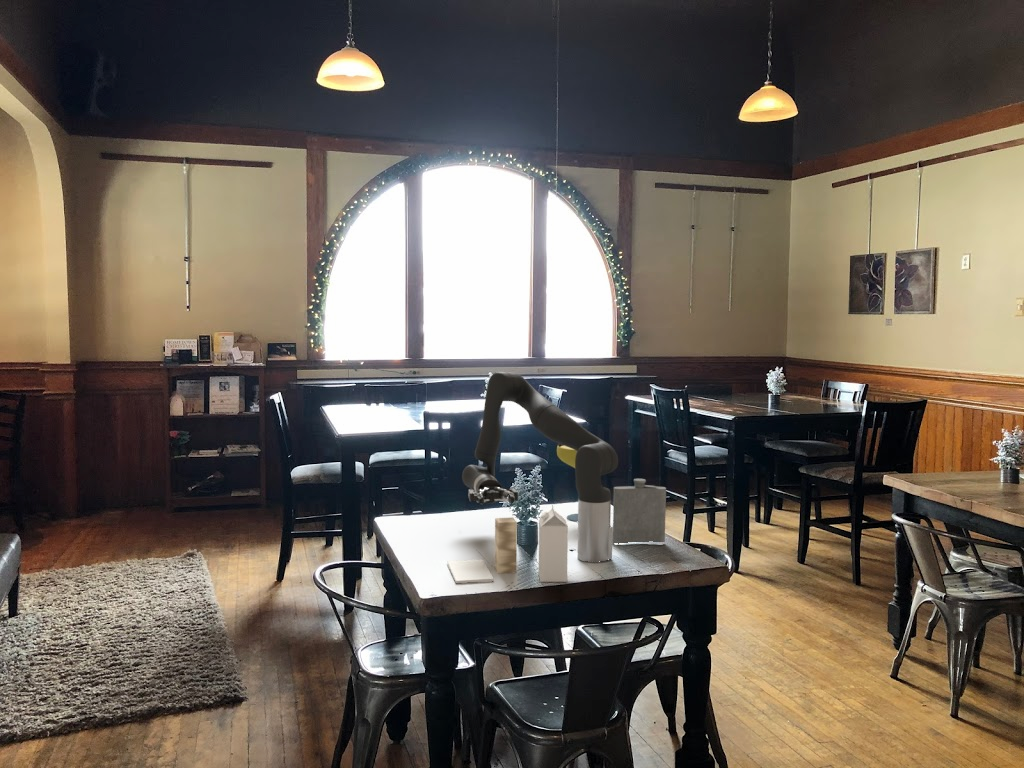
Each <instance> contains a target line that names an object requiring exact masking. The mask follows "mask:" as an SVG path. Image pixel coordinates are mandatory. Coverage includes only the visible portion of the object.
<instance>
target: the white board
mask: <svg viewBox="0 0 1024 768" xmlns="http://www.w3.org/2000/svg"><path fill="white" fill-rule="evenodd" d="M447 564H448V565H447V567H448V566H449V567H448V568H449V569H448V570H449V571H450V574H451V573H452V574H451V576H452V575H453V576H452V579H453V580H455V581H454V583H455V582H456V583H462V584H468V583H467V582H478V583H490V582H491V583H492V581H495V580H494V577H493V575H492V573H491V572H490V570H489V568H488V566H487V564H486V563H485V561H484V559H469V560H451V561H450V560H449V561H447ZM456 583H455V584H456Z"/></svg>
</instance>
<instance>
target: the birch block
mask: <svg viewBox="0 0 1024 768" xmlns="http://www.w3.org/2000/svg"><path fill="white" fill-rule="evenodd" d="M494 522H495V523H494V569H495V571H496V572H497V573H498V574H512V572H515V573H517V545H518V543H517V540H518V539H517V538H518V537H517V535H518V531H517V529H518V526H517V525H518V523H517V522H518V521H517V520H516V519H515V518H514V517H513V516H510V517H495V518H494Z"/></svg>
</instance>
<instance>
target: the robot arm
mask: <svg viewBox="0 0 1024 768" xmlns="http://www.w3.org/2000/svg"><path fill="white" fill-rule="evenodd" d="M503 402H512V403H515V404H517V406H520V407H522V408H523V409H524V410H525V411H526V412H527V414H528V416H529V420H530V422H531V424H532V426H533V427H534V429H536V430H537V431H538V432H540V433H541V434H542V435H543V436H544V437H545V438H547V439H549V440H550V441H552V442H553V443H556V444H558V445H559V444H561V445H564V446H567V447H569V448H572V449H574V450H576V451H577V454H576V458H575V468H574V471H575V473H574V474H575V488H576V491H577V494H578V497H577V498H578V502H577V503H578V505H577V507H578V508H577V509H578V510H577V514H578V522H577V550H576V551H577V559H578V560H580V561H581V562H585V561H588V562H587V563H593V562H598V563H600V562H599V561H605V560H608V559H612V560H613V526H611V513H612V512H611V511H612V510H611V509H612V508H611V507H612V505H611V504H612V502H611V501H612V493H611V490H610V488H608V487H605V486H603V485H602V477H601V476H605V475H609V474H611V473H613V472H614V471H615V470H616V469H617V468H618V467H619V466H618V465H619V457H618V454H617V452H616V450H615V449H614V447H613V446H612V445H610V444H609V443H608V442H606V441H604V440H603V439H601V438H600V437H598V436H596V435H595V434H593V433H591V432H590V431H588V430H587V429H586V428H584V426H582V425H581V424H580V423H578V422H577V421H576V420H574V419H573V418H572V417H571V416H569V415H568V414H567V413H566V412H564V411H563V410H562V409H561V408H560V407H558V406H557V405H555V403H553V402H552V401H550V400H549V399H548V398H547V397H546V396H544V395H542V394H541V393H539V391H538V390H536V389H535V388H534V387H533V386H532V384H530V382H529V381H527V380H526V379H525V378H524V377H523V376H522V375H521V374H519V373H518V372H513V371H511V372H509V371H496V372H494V373H492V375H491V376H490V377H489V379H488V383H487V386H486V392H485V401H484V407H483V417H482V423H481V424H482V425H481V429H480V433H479V437H478V439H477V444H476V448H475V450H474V457H475V459H476V460H477V461H480V462H482V463H484V464H485V465H486V466H481V465H475V464H469V465H467V466H465V468H464V469H463V471H462V475H461V478H462V483H463V484H464V485H465V486H466V488H469V489H468V499H469V502H470V503H474V502H475V501H476V503H477V504H479V505H485V504H494V503H496V502H498V501H499V502H500V501H501V502H509V504H510V505H512V504H514V503H515V501H517V502H518V501H519V491H518V490H516V489H515V488H514V487H510V488H509V490H508V489H505V488H503V486H502V485H501V482H499V481H498V480H497V478H496V472H495V471H496V469H495V468H496V458H497V454H498V451H499V449H500V445H501V441H502V430H501V424H500V410H501V407H502V405H503ZM608 561H609V560H608ZM605 562H606V561H605Z"/></svg>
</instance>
